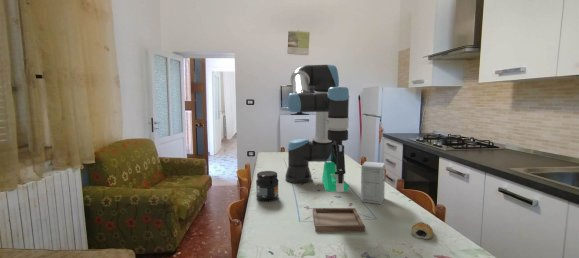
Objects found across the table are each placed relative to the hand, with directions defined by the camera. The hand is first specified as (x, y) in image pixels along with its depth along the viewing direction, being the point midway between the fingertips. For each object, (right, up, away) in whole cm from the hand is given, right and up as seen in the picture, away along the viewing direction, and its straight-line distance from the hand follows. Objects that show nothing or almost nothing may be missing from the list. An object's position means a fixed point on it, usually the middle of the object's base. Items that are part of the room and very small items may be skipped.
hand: (337, 185), depth 107 cm
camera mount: (-1, -1, 0) cm, 1 cm away
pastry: (+28, -15, -8) cm, 33 cm away
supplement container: (-28, -11, +27) cm, 41 cm away
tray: (0, -14, +2) cm, 14 cm away
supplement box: (+21, -11, +24) cm, 34 cm away
